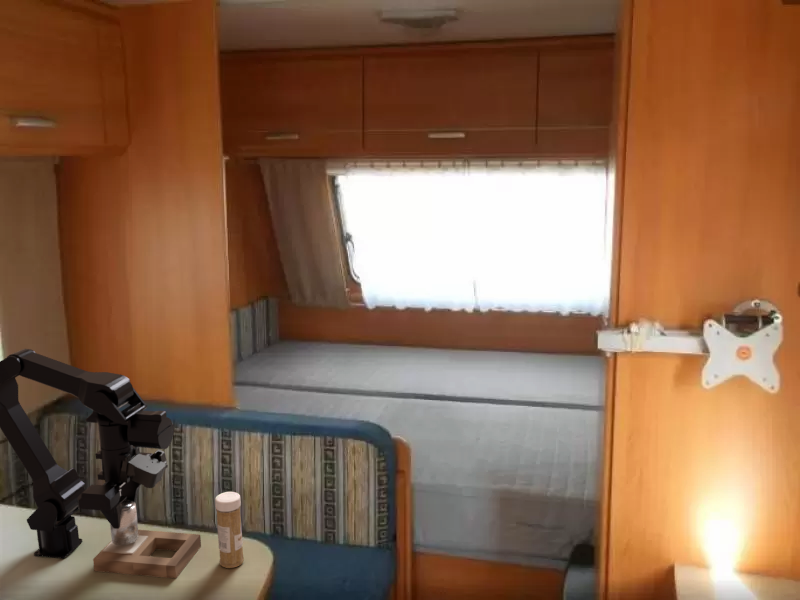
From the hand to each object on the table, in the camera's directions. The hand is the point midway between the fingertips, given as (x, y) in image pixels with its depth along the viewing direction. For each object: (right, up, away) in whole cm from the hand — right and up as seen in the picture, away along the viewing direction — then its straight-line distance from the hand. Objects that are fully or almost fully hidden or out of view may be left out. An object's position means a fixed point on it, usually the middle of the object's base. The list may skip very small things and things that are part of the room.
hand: (123, 521), depth 144 cm
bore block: (+5, -7, +1) cm, 9 cm away
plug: (0, -3, +1) cm, 4 cm away
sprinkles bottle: (+20, -8, -1) cm, 22 cm away
